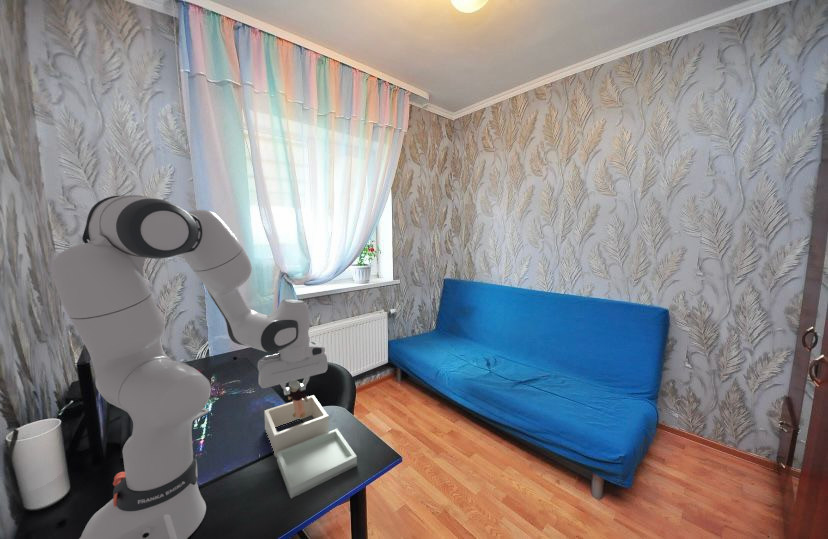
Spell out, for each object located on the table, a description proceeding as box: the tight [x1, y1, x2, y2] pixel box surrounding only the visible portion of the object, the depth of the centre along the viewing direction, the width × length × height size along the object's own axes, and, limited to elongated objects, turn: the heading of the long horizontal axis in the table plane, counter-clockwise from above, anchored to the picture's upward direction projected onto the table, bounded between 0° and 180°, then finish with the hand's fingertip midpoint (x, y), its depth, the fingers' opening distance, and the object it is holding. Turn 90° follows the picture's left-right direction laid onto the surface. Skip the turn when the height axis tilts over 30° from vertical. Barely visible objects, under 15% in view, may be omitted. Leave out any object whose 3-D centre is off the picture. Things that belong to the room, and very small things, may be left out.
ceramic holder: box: [263, 394, 330, 458], centre depth 96 cm, size 16×14×7 cm
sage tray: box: [276, 428, 358, 499], centre depth 85 cm, size 18×14×3 cm
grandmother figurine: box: [287, 380, 309, 419], centre depth 95 cm, size 8×4×13 cm, turn 83°
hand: (294, 391), depth 94 cm, fingers open, 3 cm apart
